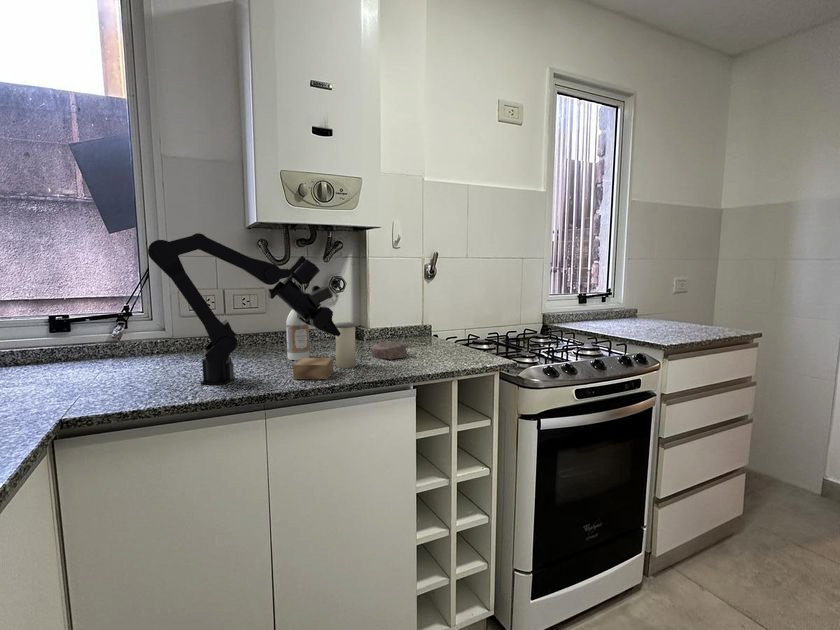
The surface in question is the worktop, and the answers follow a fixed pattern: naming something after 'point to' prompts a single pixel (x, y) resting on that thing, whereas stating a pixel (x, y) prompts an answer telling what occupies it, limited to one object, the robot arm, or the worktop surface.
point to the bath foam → (297, 337)
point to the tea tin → (345, 345)
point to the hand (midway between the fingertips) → (334, 332)
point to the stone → (389, 350)
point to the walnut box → (313, 368)
